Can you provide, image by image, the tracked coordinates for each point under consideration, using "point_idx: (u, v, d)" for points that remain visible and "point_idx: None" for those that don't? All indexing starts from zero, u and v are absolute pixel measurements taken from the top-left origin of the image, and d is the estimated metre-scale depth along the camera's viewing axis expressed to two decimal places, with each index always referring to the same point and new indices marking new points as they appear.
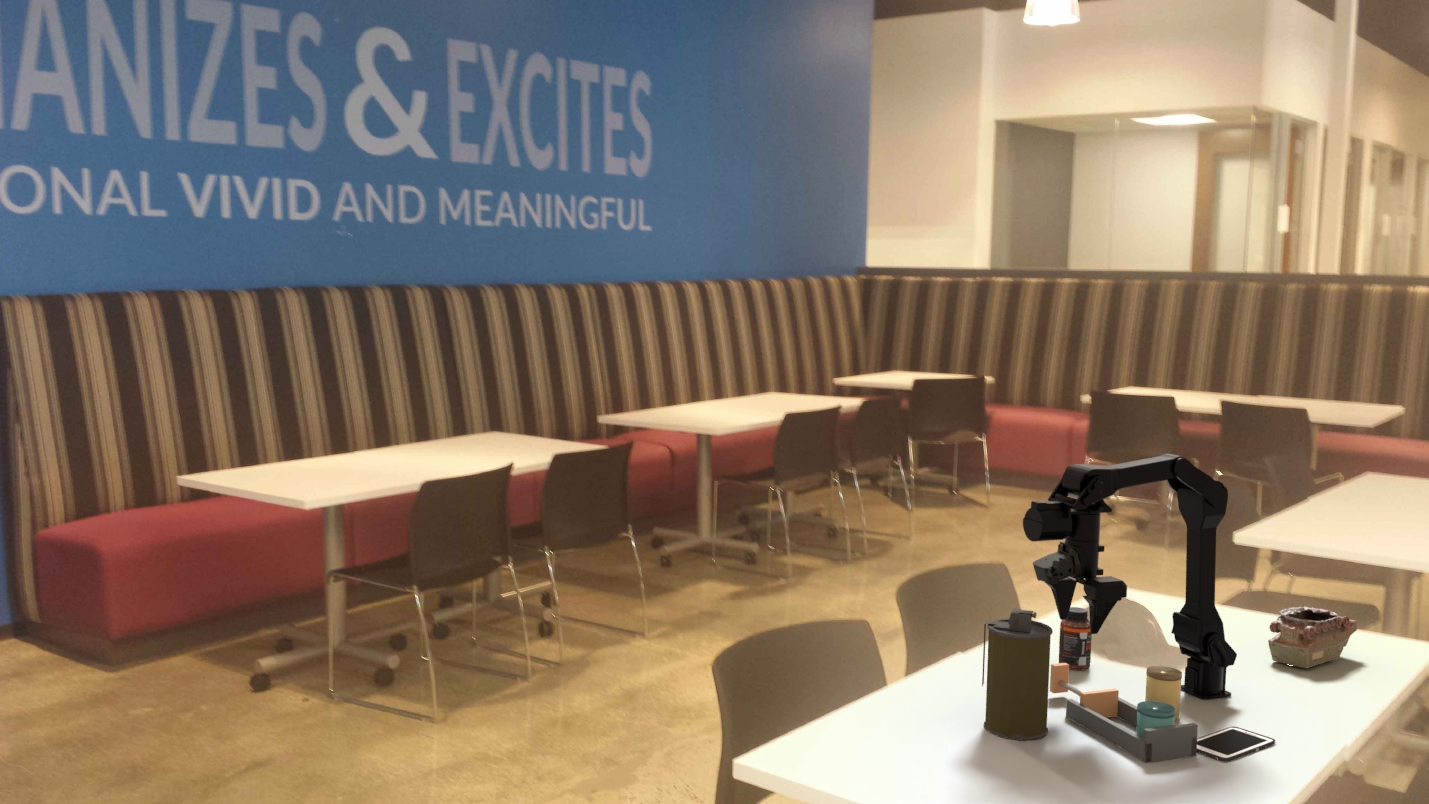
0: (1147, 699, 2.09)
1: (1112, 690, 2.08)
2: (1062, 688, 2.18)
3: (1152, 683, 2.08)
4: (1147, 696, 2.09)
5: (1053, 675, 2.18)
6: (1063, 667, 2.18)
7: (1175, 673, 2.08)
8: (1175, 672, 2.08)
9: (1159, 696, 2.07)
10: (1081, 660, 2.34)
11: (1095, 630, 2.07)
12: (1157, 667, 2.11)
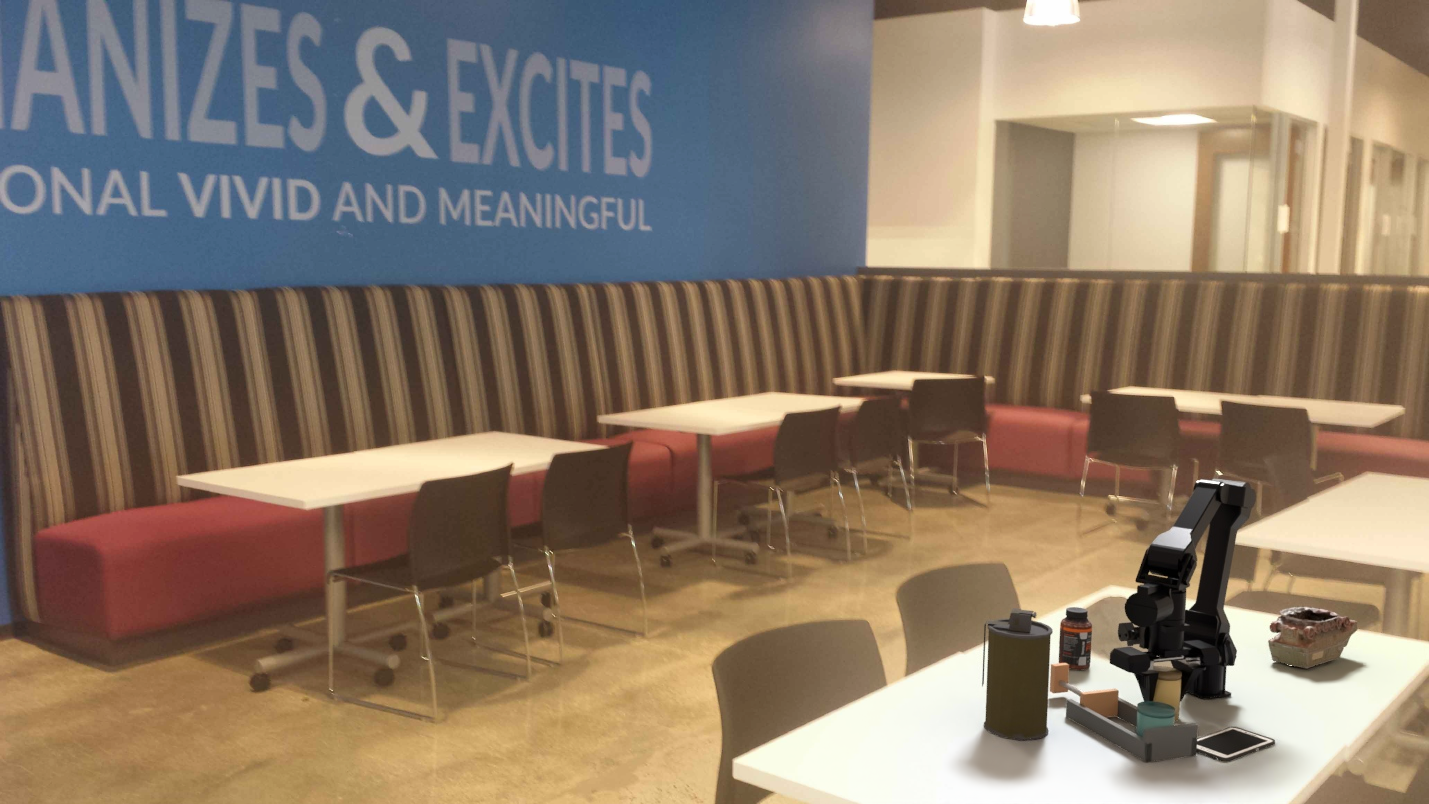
0: None
1: (1112, 690, 2.08)
2: (1062, 688, 2.18)
3: None
4: None
5: (1053, 675, 2.18)
6: (1063, 667, 2.18)
7: (1175, 673, 2.08)
8: (1175, 672, 2.08)
9: (1159, 696, 2.07)
10: (1081, 660, 2.34)
11: None
12: (1157, 667, 2.11)
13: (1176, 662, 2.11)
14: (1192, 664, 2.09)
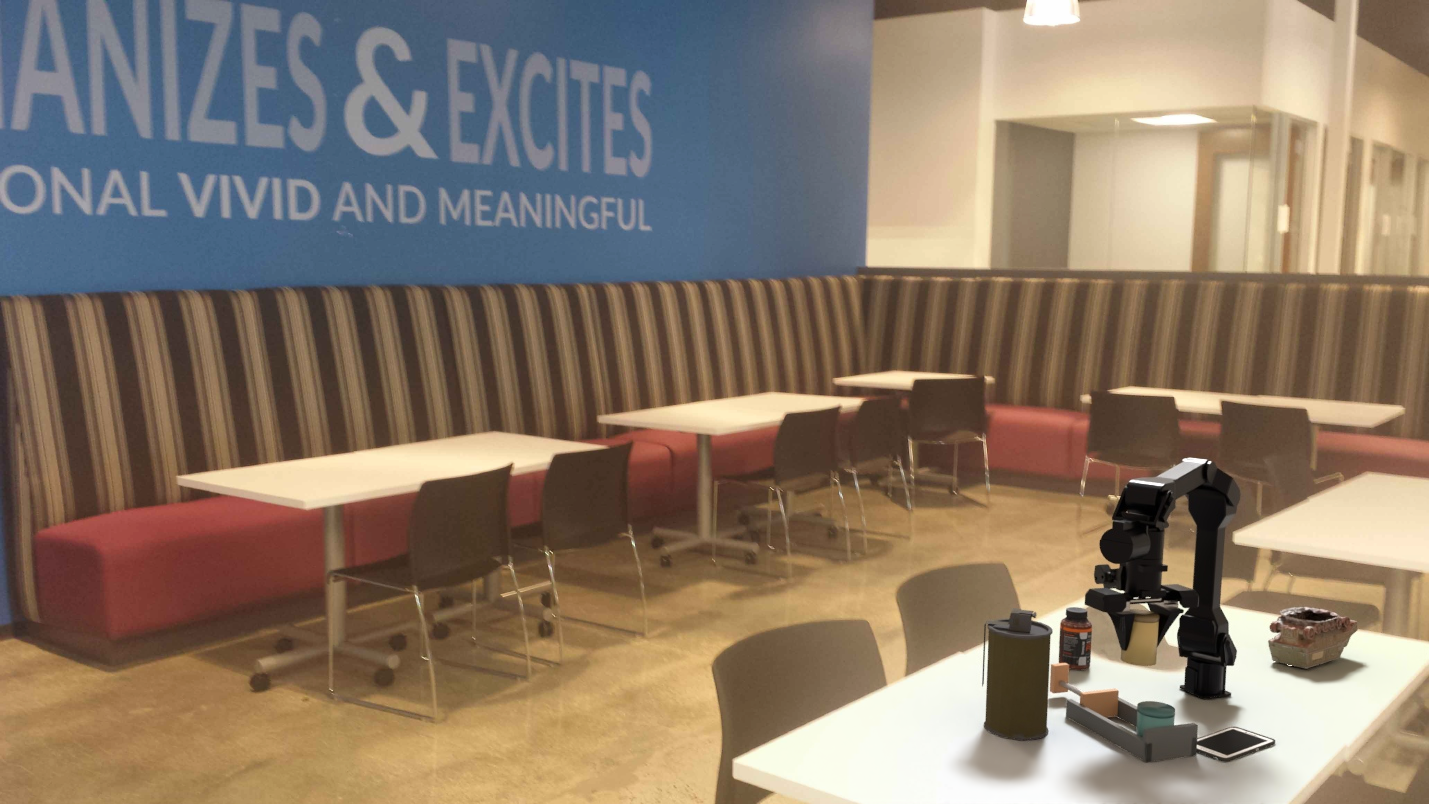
0: None
1: (1112, 690, 2.08)
2: (1062, 688, 2.18)
3: None
4: None
5: (1053, 675, 2.18)
6: (1063, 667, 2.18)
7: (1152, 615, 2.01)
8: (1152, 615, 2.01)
9: (1135, 638, 2.00)
10: (1081, 660, 2.34)
11: (1122, 646, 2.01)
12: (1134, 610, 2.04)
13: (1154, 606, 2.04)
14: (1170, 607, 2.02)
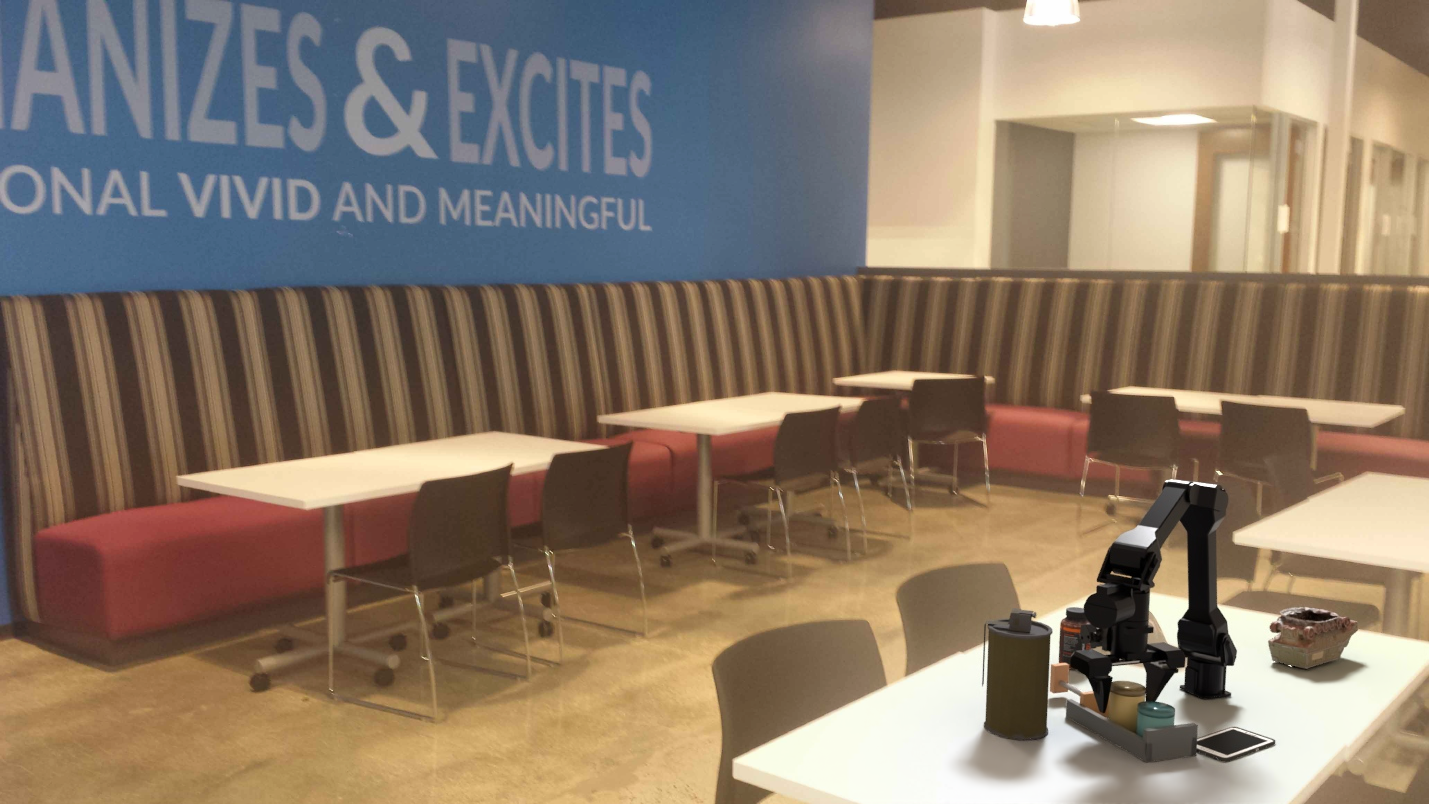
0: (1109, 715, 2.01)
1: None
2: (1062, 688, 2.18)
3: (1115, 699, 2.00)
4: (1110, 712, 2.01)
5: (1053, 675, 2.18)
6: (1063, 667, 2.18)
7: (1138, 688, 2.00)
8: (1139, 687, 2.00)
9: (1122, 712, 1.99)
10: None
11: (1100, 708, 1.99)
12: (1120, 682, 2.03)
13: (1148, 664, 2.03)
14: (1165, 667, 2.01)
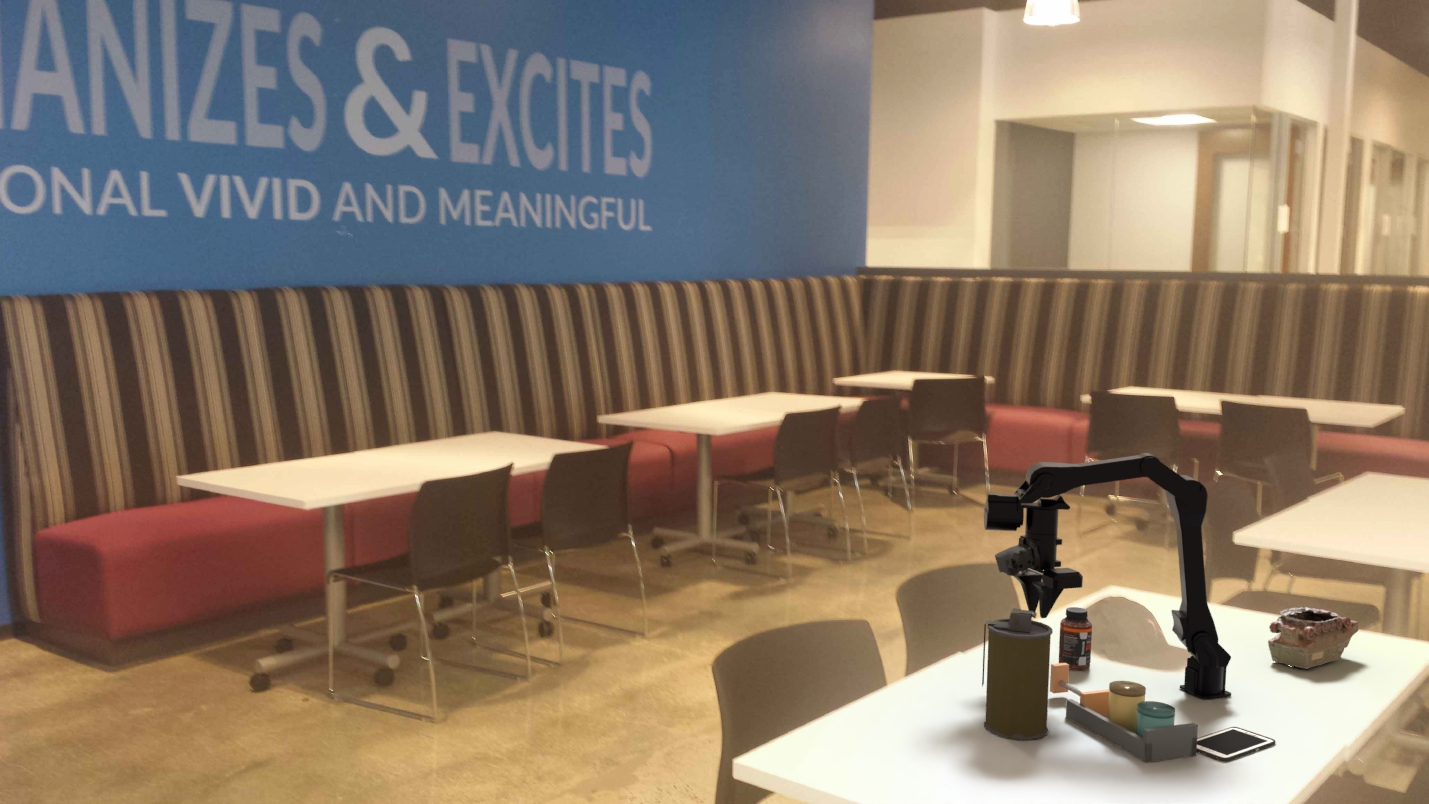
0: (1110, 715, 2.01)
1: None
2: (1062, 688, 2.18)
3: (1115, 699, 2.00)
4: (1110, 712, 2.01)
5: (1053, 675, 2.18)
6: (1063, 667, 2.18)
7: (1139, 688, 2.00)
8: (1139, 687, 2.00)
9: (1122, 712, 1.99)
10: (1081, 660, 2.34)
11: (1044, 614, 2.23)
12: (1120, 682, 2.03)
13: (1026, 576, 2.26)
14: None
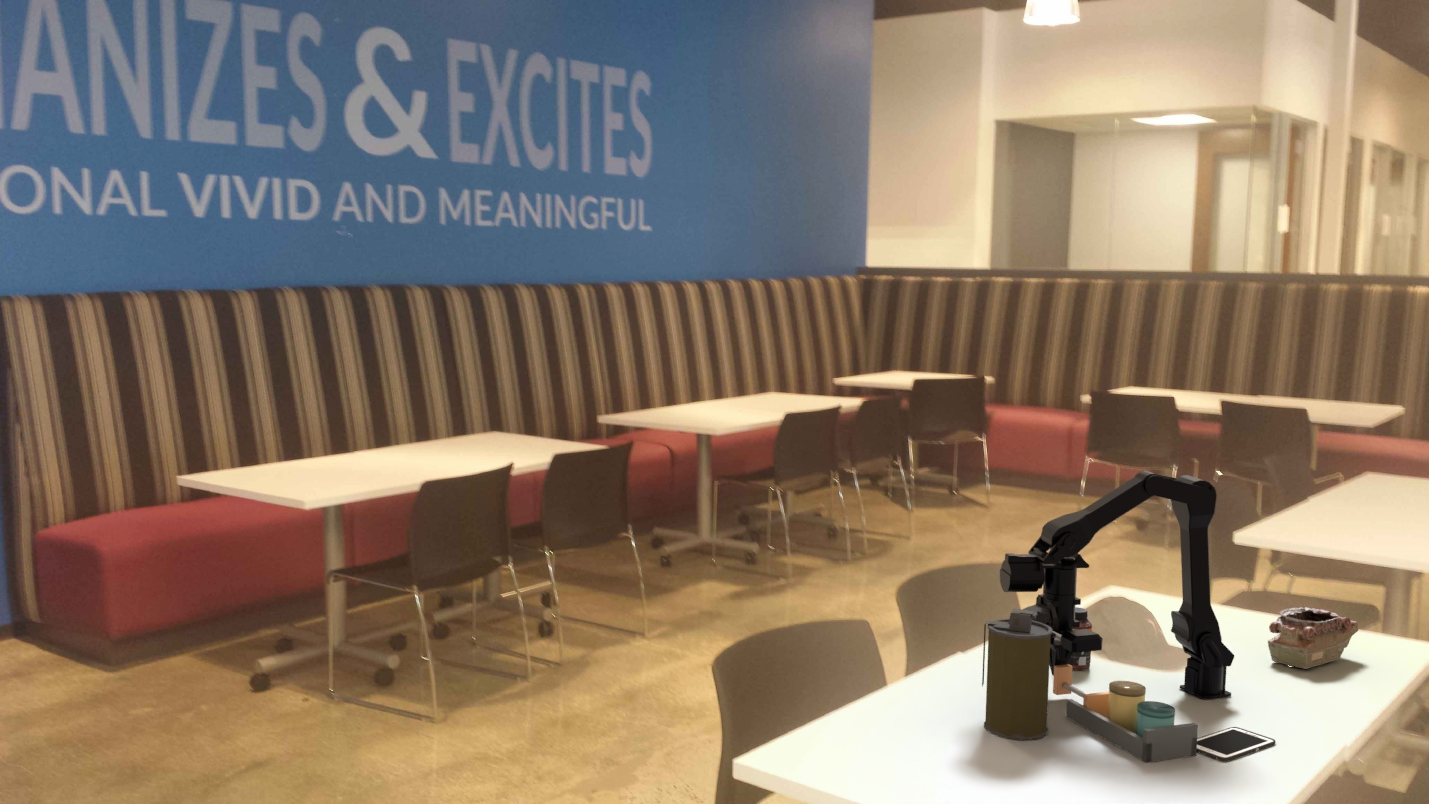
0: (1110, 715, 2.01)
1: None
2: (1065, 690, 2.17)
3: (1115, 699, 2.00)
4: (1110, 712, 2.01)
5: (1056, 677, 2.17)
6: (1066, 669, 2.17)
7: (1138, 688, 2.00)
8: (1139, 687, 2.00)
9: (1122, 712, 1.99)
10: (1081, 660, 2.34)
11: None
12: (1120, 682, 2.03)
13: None
14: None
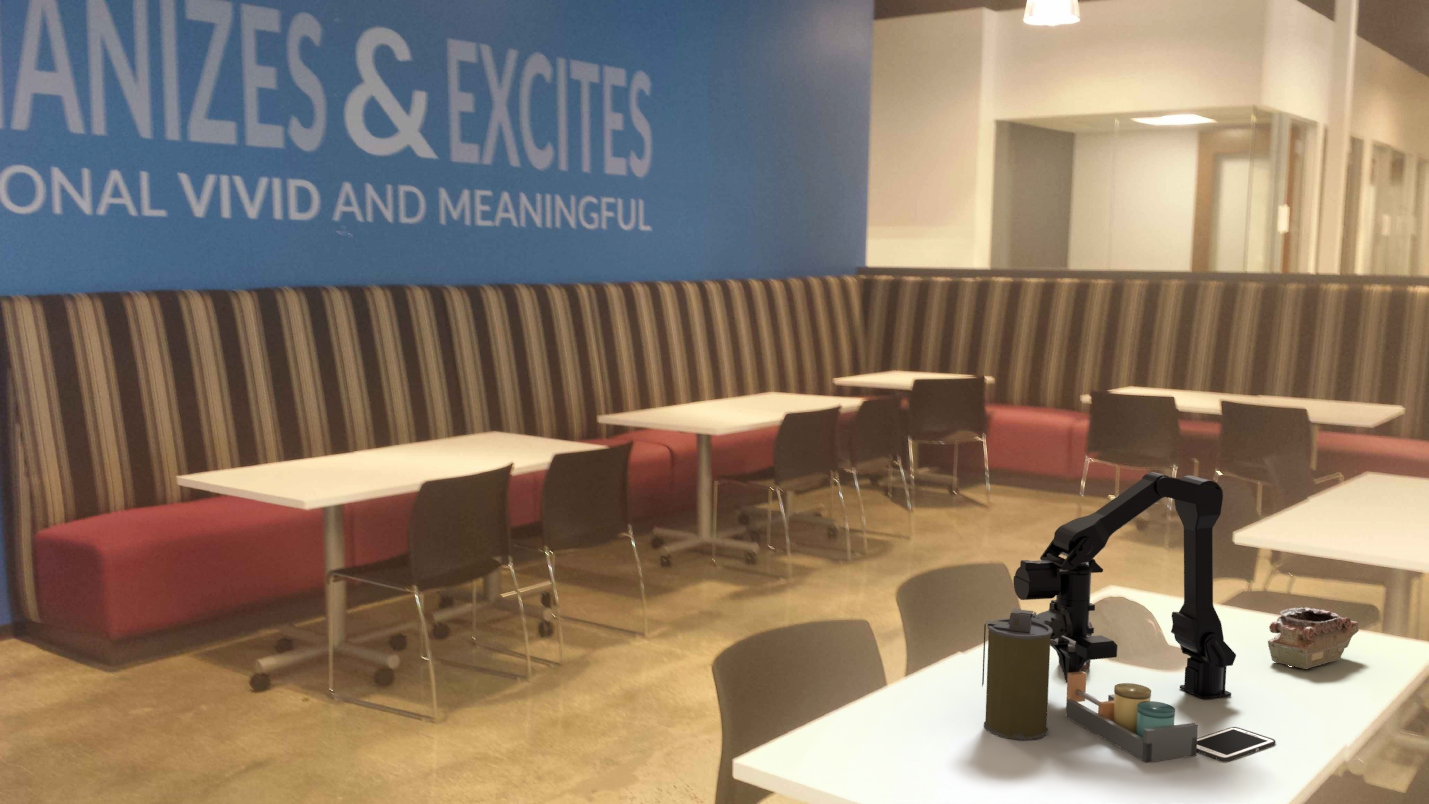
0: (1115, 718, 2.00)
1: None
2: (1079, 697, 2.14)
3: (1120, 702, 1.98)
4: (1115, 715, 1.99)
5: (1070, 684, 2.13)
6: (1080, 676, 2.13)
7: (1144, 691, 1.98)
8: (1144, 690, 1.99)
9: (1127, 715, 1.97)
10: None
11: None
12: (1125, 684, 2.01)
13: (1062, 645, 2.15)
14: None
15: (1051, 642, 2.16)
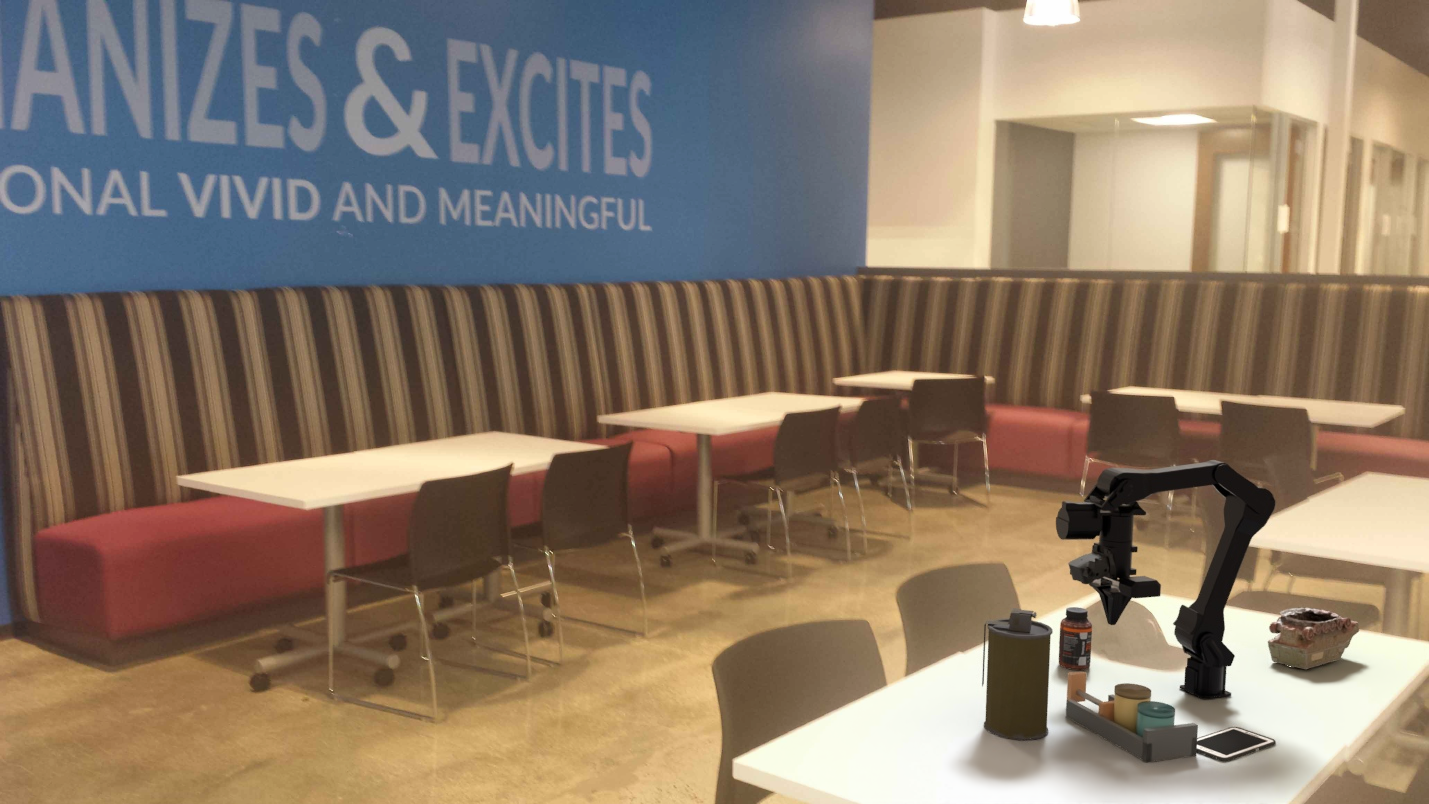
0: (1115, 718, 2.00)
1: None
2: (1079, 697, 2.13)
3: (1120, 702, 1.98)
4: (1115, 715, 1.99)
5: (1070, 684, 2.13)
6: (1080, 676, 2.13)
7: (1144, 691, 1.98)
8: (1144, 690, 1.99)
9: (1127, 715, 1.97)
10: (1081, 660, 2.34)
11: (1113, 621, 2.19)
12: (1126, 685, 2.01)
13: (1105, 587, 2.19)
14: None
15: (1093, 584, 2.20)
